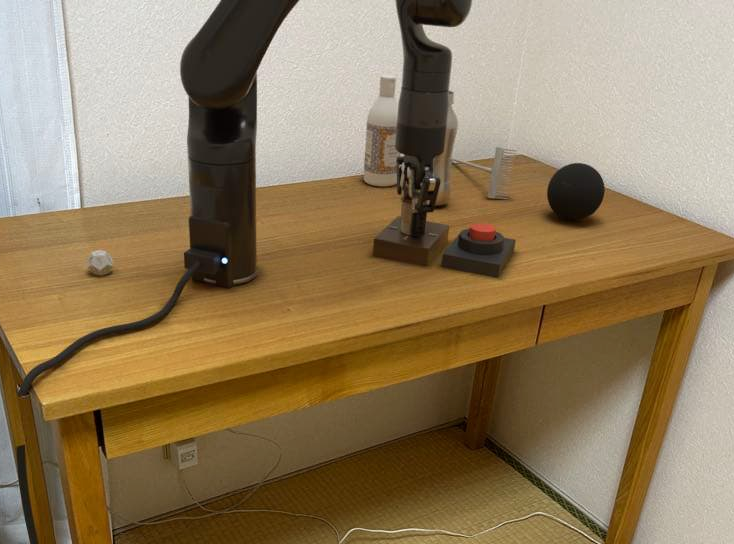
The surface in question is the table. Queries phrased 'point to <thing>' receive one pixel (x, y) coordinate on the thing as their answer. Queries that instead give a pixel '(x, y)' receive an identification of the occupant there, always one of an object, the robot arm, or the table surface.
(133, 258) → the table surface
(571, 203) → the speaker
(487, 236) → the red push button
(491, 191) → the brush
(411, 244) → the dial panel
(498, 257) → the button housing
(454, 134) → the plastic bottle
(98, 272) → the game die
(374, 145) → the bath foam
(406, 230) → the lock dial
